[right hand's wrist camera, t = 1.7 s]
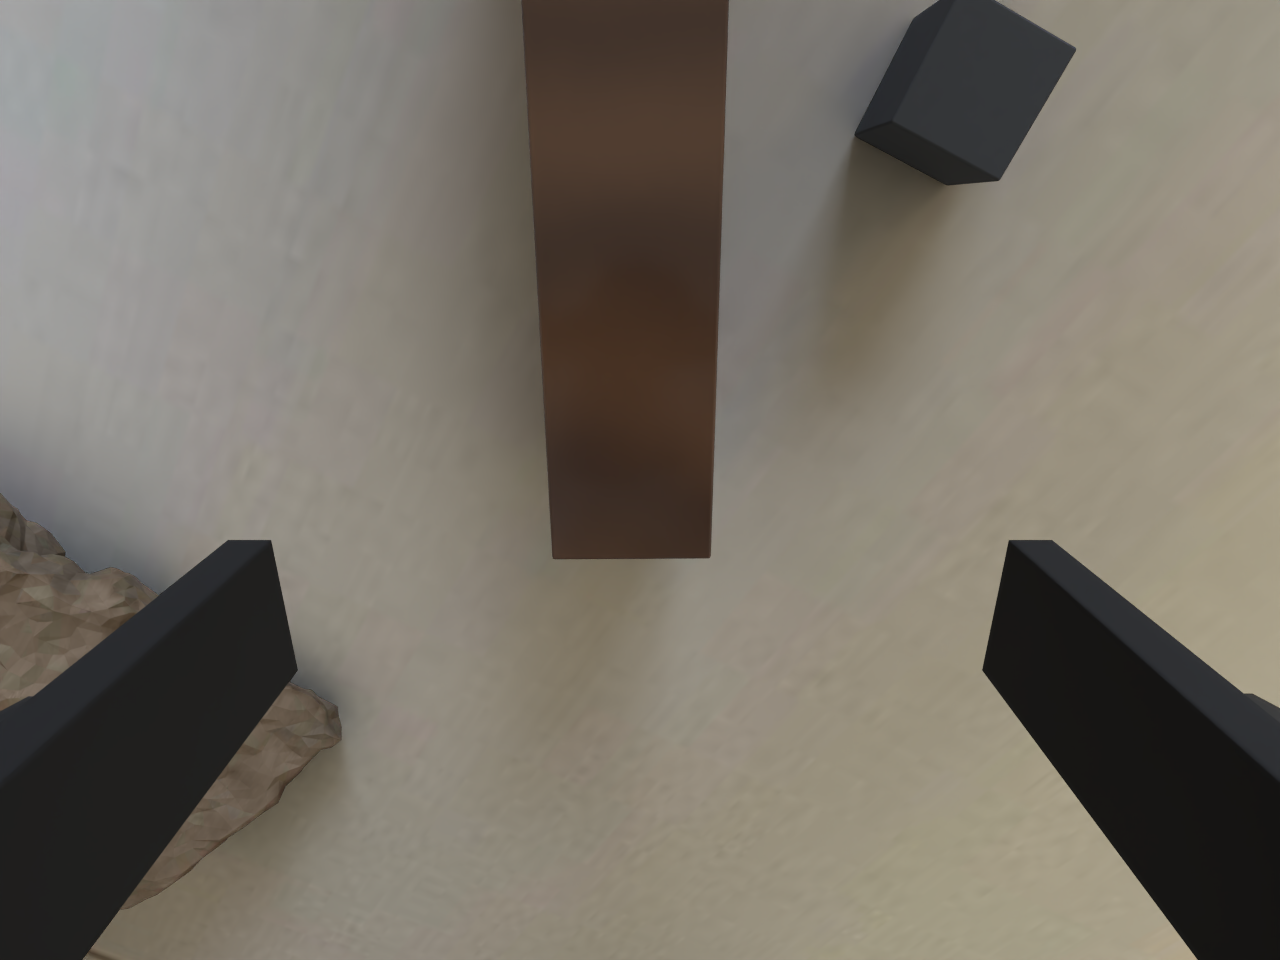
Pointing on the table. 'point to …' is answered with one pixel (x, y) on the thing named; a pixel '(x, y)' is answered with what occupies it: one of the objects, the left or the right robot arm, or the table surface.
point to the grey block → (964, 90)
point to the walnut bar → (628, 266)
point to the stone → (83, 617)
